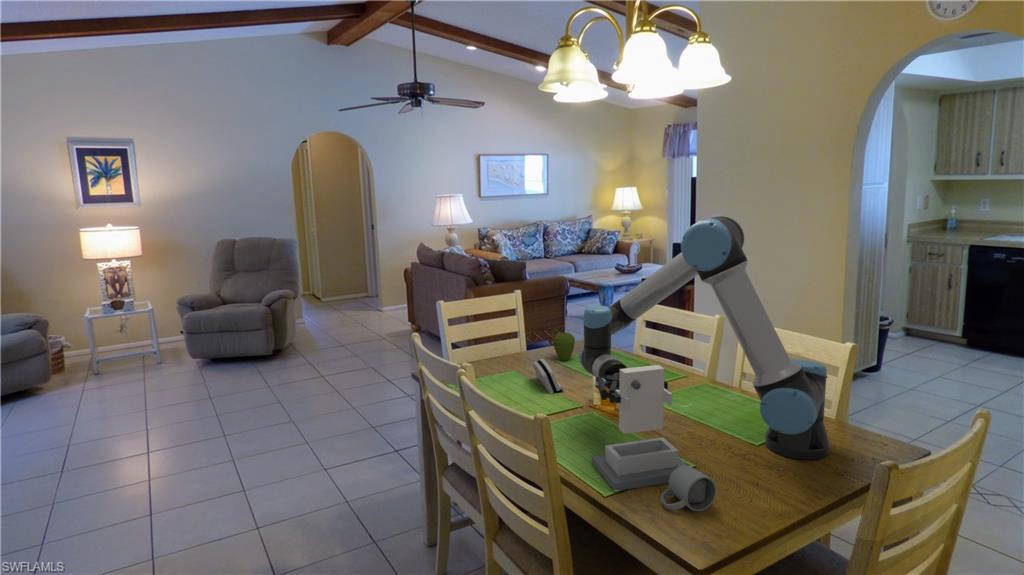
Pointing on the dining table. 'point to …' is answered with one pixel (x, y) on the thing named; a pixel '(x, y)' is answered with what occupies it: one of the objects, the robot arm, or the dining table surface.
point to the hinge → (546, 376)
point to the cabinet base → (638, 463)
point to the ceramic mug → (689, 489)
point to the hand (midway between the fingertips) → (649, 402)
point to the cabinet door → (642, 398)
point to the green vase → (564, 345)
